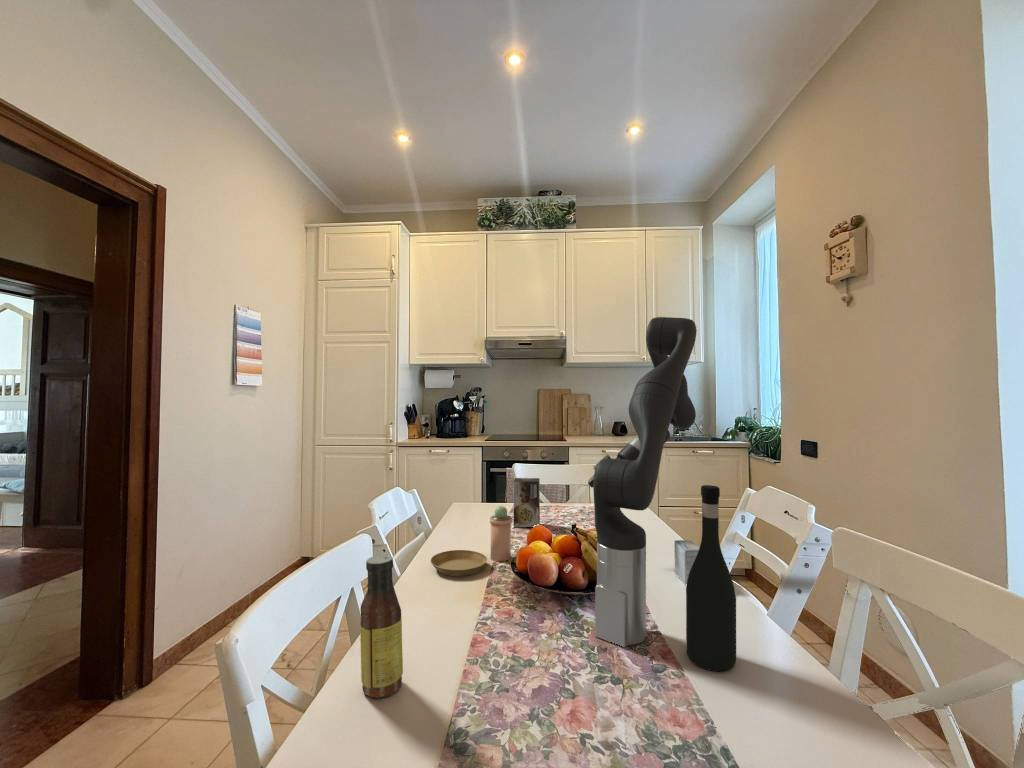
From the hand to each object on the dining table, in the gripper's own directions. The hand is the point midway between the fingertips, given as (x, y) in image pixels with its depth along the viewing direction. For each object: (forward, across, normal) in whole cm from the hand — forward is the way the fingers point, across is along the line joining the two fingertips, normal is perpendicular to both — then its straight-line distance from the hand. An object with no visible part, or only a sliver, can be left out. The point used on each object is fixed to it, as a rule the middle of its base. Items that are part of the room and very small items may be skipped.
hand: (598, 492), depth 130 cm
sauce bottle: (+53, +34, -41) cm, 75 cm away
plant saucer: (+41, -5, -11) cm, 43 cm away
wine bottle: (+12, +52, -8) cm, 54 cm away
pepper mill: (+32, -7, -2) cm, 33 cm away
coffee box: (+22, -31, +20) cm, 42 cm away
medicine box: (+1, +26, +16) cm, 31 cm away
